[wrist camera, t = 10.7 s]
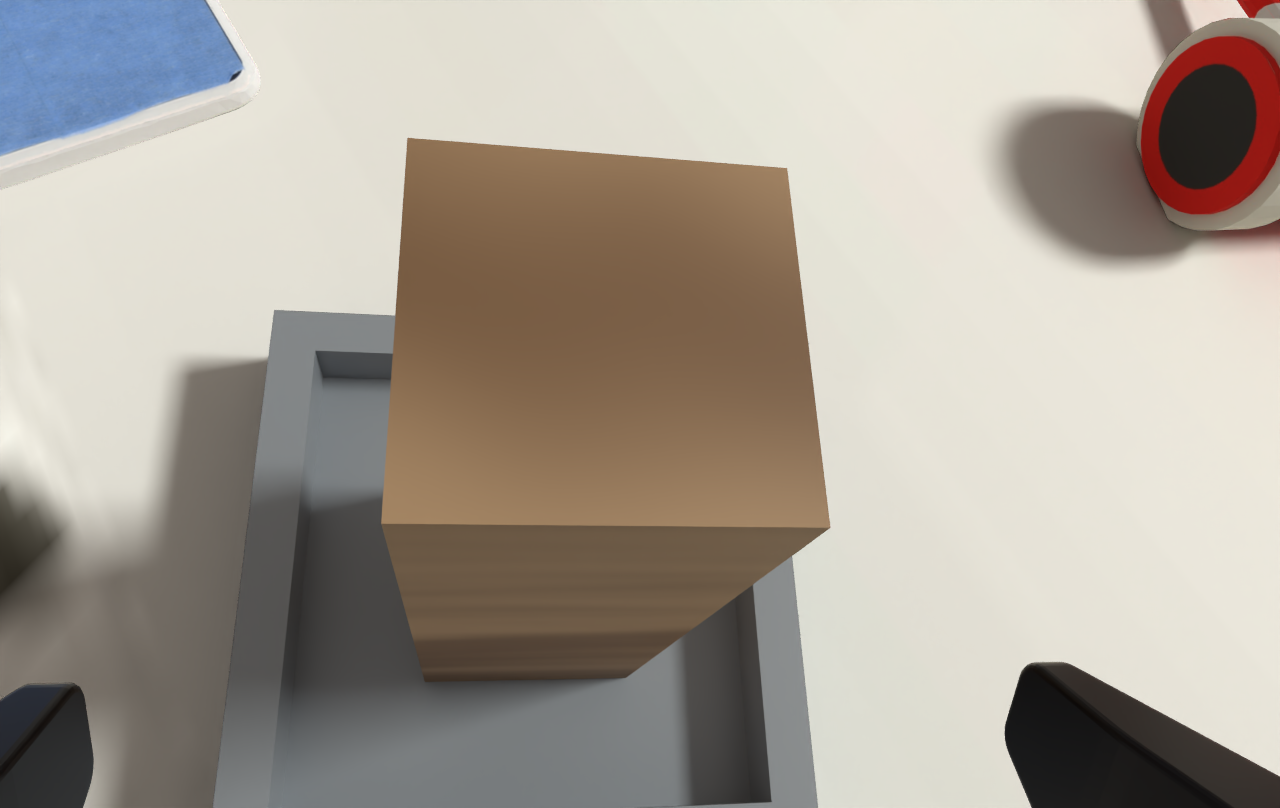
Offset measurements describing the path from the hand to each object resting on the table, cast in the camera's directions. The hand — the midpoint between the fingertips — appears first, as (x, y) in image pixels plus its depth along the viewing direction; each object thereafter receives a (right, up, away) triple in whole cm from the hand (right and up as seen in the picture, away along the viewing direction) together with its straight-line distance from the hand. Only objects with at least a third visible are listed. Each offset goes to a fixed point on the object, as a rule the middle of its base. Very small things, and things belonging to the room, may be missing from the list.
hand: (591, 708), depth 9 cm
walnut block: (-2, -1, +13) cm, 13 cm away
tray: (-2, -2, +14) cm, 14 cm away
